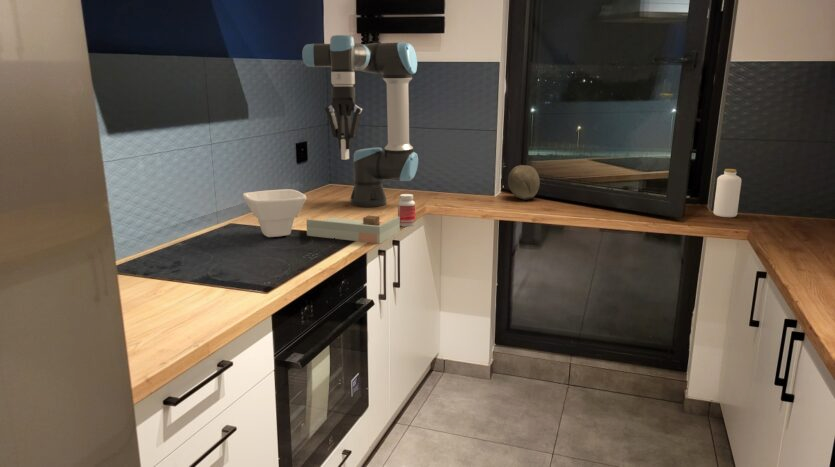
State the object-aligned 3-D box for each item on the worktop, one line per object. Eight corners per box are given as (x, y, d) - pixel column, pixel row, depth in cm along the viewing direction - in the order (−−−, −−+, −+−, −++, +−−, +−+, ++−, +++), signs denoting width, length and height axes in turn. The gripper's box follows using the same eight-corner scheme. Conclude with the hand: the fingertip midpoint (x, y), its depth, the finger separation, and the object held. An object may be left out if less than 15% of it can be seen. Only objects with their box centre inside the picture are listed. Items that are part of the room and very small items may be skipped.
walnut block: (368, 227, 210) (368, 215, 209) (379, 228, 209) (379, 216, 208) (363, 229, 207) (363, 217, 206) (374, 230, 205) (374, 218, 204)
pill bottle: (418, 225, 225) (418, 195, 223) (404, 227, 222) (403, 197, 219) (409, 222, 230) (409, 192, 228) (394, 224, 227) (394, 194, 224)
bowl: (255, 245, 198) (252, 202, 195) (242, 232, 215) (239, 192, 212) (312, 239, 207) (310, 197, 203) (295, 226, 223) (293, 188, 220)
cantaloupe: (544, 198, 277) (545, 164, 273) (531, 203, 265) (533, 168, 262) (514, 195, 284) (515, 162, 281) (501, 200, 273) (502, 165, 269)
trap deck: (330, 225, 225) (330, 210, 224) (399, 232, 216) (399, 216, 214) (307, 235, 211) (306, 219, 210) (379, 243, 201) (379, 226, 200)
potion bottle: (736, 214, 245) (742, 168, 241) (737, 218, 238) (743, 171, 234) (713, 212, 249) (718, 167, 244) (713, 216, 241) (718, 170, 237)
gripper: (319, 85, 200) (322, 159, 206) (356, 86, 195) (357, 161, 201) (331, 85, 207) (333, 156, 213) (366, 85, 202) (368, 158, 208)
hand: (345, 158), depth 207 cm, fingers closed
